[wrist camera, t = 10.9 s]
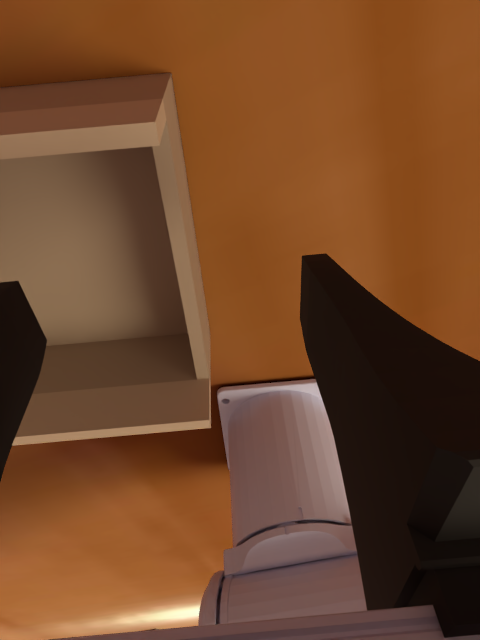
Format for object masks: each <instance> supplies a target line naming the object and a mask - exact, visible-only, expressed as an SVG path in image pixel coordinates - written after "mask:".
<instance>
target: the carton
mask: <svg viewBox="0 0 480 640" xmlns="http://www.w3.org/2000/svg"><path fill="white" fill-rule="evenodd" d="M10 281H19V283H20V285H21V287H22V289H23V292H24V294H25V296H26V298H27V300H28V302H29V304H30V306H31V308H32V310H33V312H34V314H35V316H36V318H37V320H38V322H39V324H40V327H41V329H42V331H43V333H44V335H45V337H46V339H47V344H46V349H45V354H44V359H43V363H42V367H41V372H40V375H39V378H38V381H37V383H36V386H35V388H34V391H33V394H32V396H31V399H30V401H29V404H28V406H27V409H26V411H25V414H24V416H23V419H22V421H21V424H20V426H19V429H18V431H17V434H16V436H15V439H14V441H13V444H12V446H14V445H25V444H37V443H48V442H59V441H70V440H81V439H93V438H104V437H115V436H126V435H137V434H149V433H160V432H171V431H182V430H193V429H205V428H211V377H210V329H209V323H208V316H207V309H206V302H205V296H204V289H203V282H202V276H201V269H200V262H199V255H198V249H197V242H196V235H195V229H194V222H193V215H192V208H191V202H190V195H189V188H188V182H187V175H186V168H185V161H184V155H183V148H182V141H181V135H180V128H179V121H178V114H177V108H176V101H175V94H174V88H173V81H172V74H171V73H163V74H151V75H140V76H128V77H116V78H105V79H93V80H82V81H70V82H59V83H47V84H36V85H24V86H13V87H1V88H0V282H10Z"/></svg>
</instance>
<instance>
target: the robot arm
mask: <svg viewBox="0 0 480 640" xmlns="http://www.w3.org/2000/svg"><path fill="white" fill-rule="evenodd" d="M300 321H301V326H302V332H303V337H304V342H305V347H306V351H307V355H308V358H309V361H310V364H311V367H312V370H313V373H314V376H315V379H308V380H297V381H286V382H274V383H263V384H252V385H241V386H230V387H222V388H220V389H218V391H217V399H218V405H219V412H220V418H221V425H222V431H223V438H224V444H225V451H226V457H227V464H228V469H229V470H230V487H231V509H232V532H233V548H231V549H226V550H224V571H218V572H216V573H214V575H213V576H212V578H211V579H210V582H209V584H208V586H207V588H206V590H205V592H204V594H203V597H202V601H201V606H200V613H199V625H198V626H193V627H182V628H171V629H160V630H149V631H138V632H127V633H116V634H105V635H94V636H83V637H72V638H61V639H50V640H480V361H478V360H476V359H474V358H472V357H470V356H468V355H466V354H464V353H462V352H460V351H458V350H456V349H454V348H452V347H450V346H449V345H447V344H445V343H443V342H441V341H440V340H438V339H436V338H434V337H433V336H431V335H430V334H428V333H426V332H425V331H423V330H421V329H420V328H418V327H416V326H415V325H413V324H412V323H410V322H409V321H407V320H406V319H404V318H403V317H401V316H400V315H399V314H397V313H396V312H394V311H393V310H392V309H390V308H389V307H388V306H386V305H385V304H384V303H382V302H381V301H380V300H378V299H377V298H376V297H375V296H373V295H372V294H371V293H370V292H368V291H367V290H366V289H365V288H364V287H363V286H361V285H360V284H359V283H358V282H357V281H356V280H354V279H353V278H352V277H351V276H350V275H349V274H348V273H347V272H346V271H345V270H343V269H342V268H341V267H340V266H339V265H338V264H337V263H336V262H335V261H334V260H333V259H331V258H330V257H329V256H328V255H327V254H316V255H305V256H302V271H301V302H300ZM46 344H47V339H46V337H45V335H44V333H43V331H42V329H41V327H40V324H39V322H38V320H37V318H36V316H35V314H34V312H33V310H32V308H31V306H30V304H29V302H28V300H27V298H26V296H25V294H24V292H23V289H22V287H21V285H20V283H19V281H10V282H0V481H1V477H2V474H3V470H4V467H5V463H6V461H7V458H8V455H9V452H10V449H11V446H12V444H13V441H14V439H15V436H16V434H17V431H18V429H19V426H20V424H21V421H22V419H23V416H24V414H25V411H26V409H27V406H28V404H29V401H30V399H31V396H32V394H33V391H34V388H35V386H36V383H37V381H38V378H39V375H40V372H41V367H42V363H43V359H44V354H45V349H46Z"/></svg>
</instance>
